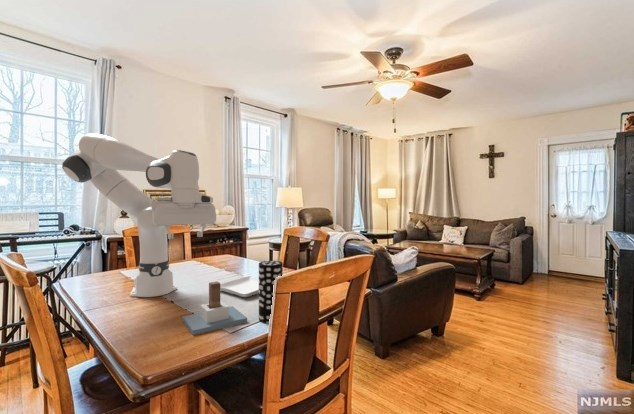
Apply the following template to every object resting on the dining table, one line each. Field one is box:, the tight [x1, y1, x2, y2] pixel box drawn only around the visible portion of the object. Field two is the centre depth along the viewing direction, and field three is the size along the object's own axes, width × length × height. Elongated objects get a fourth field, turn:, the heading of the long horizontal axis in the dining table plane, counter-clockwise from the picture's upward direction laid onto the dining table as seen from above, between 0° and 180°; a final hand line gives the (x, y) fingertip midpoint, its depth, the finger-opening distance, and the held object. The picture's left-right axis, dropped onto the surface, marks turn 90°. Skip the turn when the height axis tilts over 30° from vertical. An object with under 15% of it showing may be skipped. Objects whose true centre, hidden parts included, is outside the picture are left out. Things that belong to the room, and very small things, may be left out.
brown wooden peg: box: [208, 281, 221, 309], centre depth 107 cm, size 3×3×12 cm
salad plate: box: [220, 275, 259, 298], centre depth 144 cm, size 21×21×3 cm
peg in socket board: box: [182, 300, 248, 336], centre depth 108 cm, size 14×18×6 cm
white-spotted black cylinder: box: [258, 260, 284, 324], centre depth 110 cm, size 8×8×20 cm
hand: (185, 237), depth 107 cm, fingers open, 8 cm apart
